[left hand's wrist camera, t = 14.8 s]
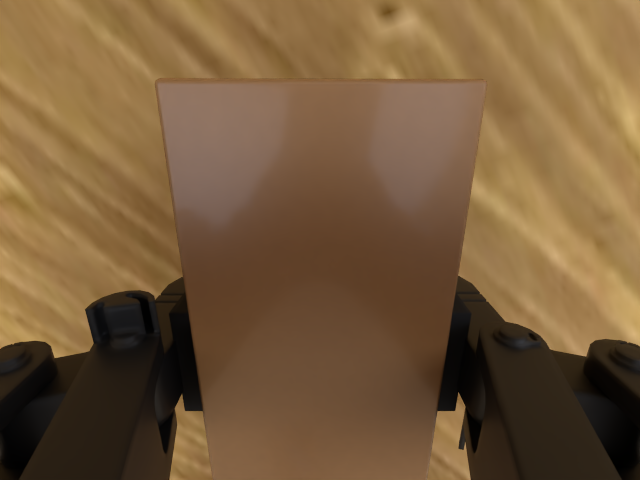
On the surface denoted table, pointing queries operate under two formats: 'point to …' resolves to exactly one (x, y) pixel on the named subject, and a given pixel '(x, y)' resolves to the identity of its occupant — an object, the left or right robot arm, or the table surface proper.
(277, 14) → the table surface
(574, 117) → the table surface
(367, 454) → the post
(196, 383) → the left robot arm
